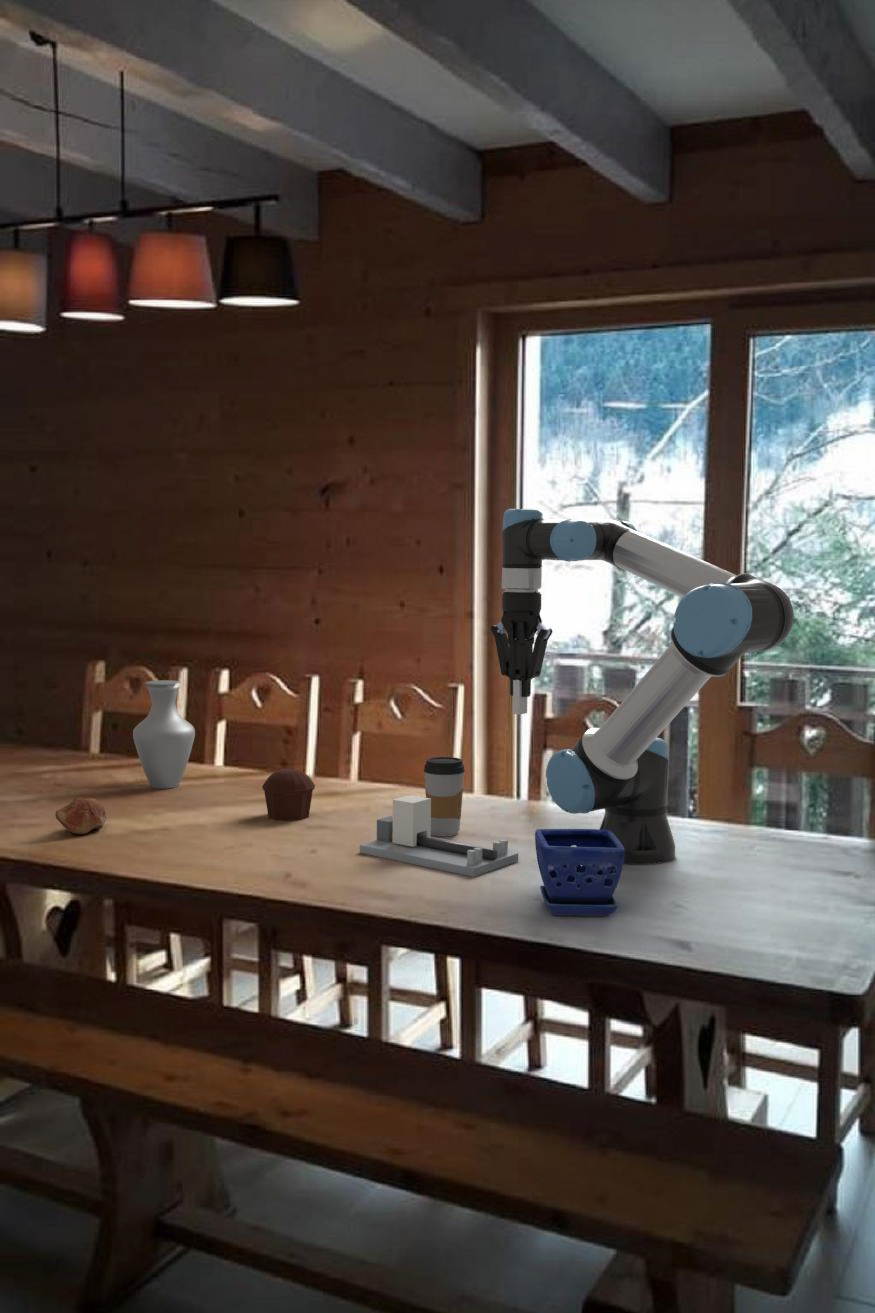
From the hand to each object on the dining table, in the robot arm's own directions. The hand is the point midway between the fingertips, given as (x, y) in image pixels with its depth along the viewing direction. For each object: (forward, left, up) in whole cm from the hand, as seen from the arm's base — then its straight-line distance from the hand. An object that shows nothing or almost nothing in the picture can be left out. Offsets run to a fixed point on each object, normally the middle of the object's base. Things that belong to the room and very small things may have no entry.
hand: (520, 713), depth 250 cm
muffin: (+54, +8, -27) cm, 61 cm away
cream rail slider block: (+14, +15, -25) cm, 32 cm away
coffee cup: (+19, -1, -27) cm, 33 cm away
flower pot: (-30, +27, -27) cm, 48 cm away
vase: (+99, +4, -27) cm, 103 cm away
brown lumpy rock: (+76, +45, -27) cm, 92 cm away
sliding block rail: (+8, +15, -26) cm, 31 cm away
